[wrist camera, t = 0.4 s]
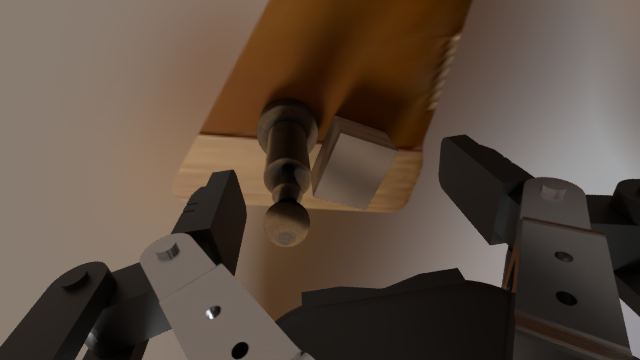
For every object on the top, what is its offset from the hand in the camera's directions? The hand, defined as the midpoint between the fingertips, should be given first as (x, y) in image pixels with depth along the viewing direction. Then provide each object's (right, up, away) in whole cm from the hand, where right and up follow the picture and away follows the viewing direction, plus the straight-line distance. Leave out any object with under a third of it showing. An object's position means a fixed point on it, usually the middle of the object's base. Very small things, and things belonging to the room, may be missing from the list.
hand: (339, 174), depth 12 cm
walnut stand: (+2, +3, +24) cm, 25 cm away
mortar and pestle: (-4, +6, +22) cm, 23 cm away
